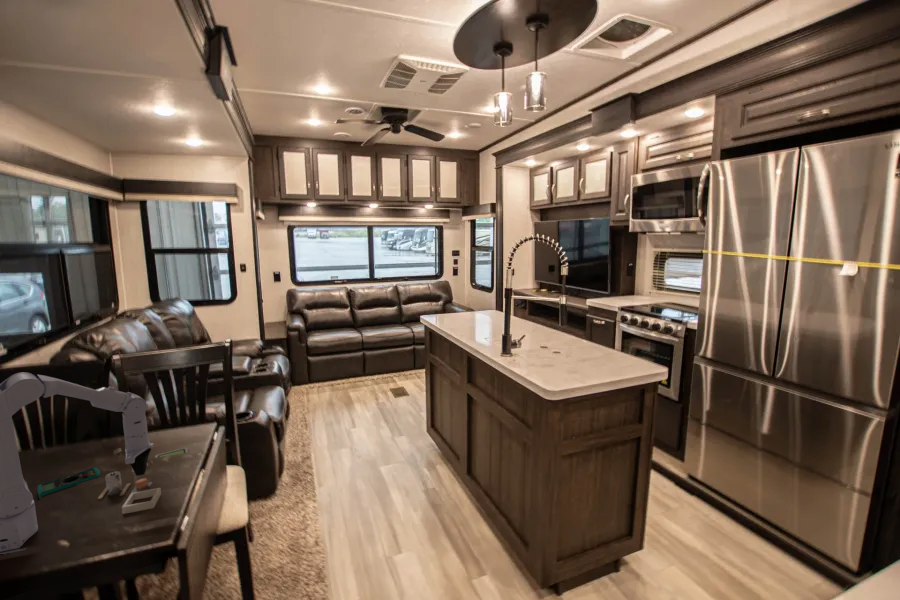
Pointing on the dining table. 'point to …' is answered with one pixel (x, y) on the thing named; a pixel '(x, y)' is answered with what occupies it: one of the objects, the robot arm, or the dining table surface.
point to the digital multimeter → (67, 481)
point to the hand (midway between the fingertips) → (140, 474)
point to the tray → (130, 507)
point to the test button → (141, 484)
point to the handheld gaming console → (173, 452)
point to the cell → (113, 483)
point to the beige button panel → (124, 490)
